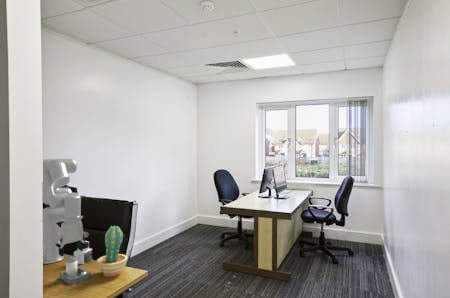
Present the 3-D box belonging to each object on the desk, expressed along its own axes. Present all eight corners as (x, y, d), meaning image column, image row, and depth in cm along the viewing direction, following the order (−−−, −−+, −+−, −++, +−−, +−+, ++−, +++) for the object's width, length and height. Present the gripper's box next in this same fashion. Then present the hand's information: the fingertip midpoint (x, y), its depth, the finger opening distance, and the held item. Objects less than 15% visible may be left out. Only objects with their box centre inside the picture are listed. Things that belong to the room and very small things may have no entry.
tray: (59, 279, 147) (59, 273, 147) (79, 272, 155) (79, 267, 155) (70, 286, 139) (70, 279, 139) (91, 278, 147) (91, 273, 147)
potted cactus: (133, 270, 158) (134, 224, 158) (114, 282, 143) (114, 232, 144) (110, 266, 163) (111, 222, 163) (89, 277, 149) (90, 228, 149)
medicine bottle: (84, 265, 165) (84, 244, 165) (73, 264, 166) (73, 243, 166) (92, 260, 172) (92, 240, 172) (81, 259, 173) (82, 239, 173)
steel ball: (79, 278, 147) (79, 271, 147) (85, 276, 149) (85, 269, 149) (82, 280, 145) (82, 273, 145) (88, 277, 147) (88, 271, 147)
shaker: (63, 277, 147) (64, 258, 147) (74, 274, 151) (74, 255, 151) (68, 280, 144) (68, 260, 144) (79, 277, 148) (79, 257, 148)
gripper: (85, 215, 157) (84, 246, 157) (50, 221, 143) (49, 255, 144) (92, 218, 152) (91, 250, 153) (57, 224, 139) (56, 259, 139)
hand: (71, 252), depth 148 cm, fingers open, 9 cm apart
